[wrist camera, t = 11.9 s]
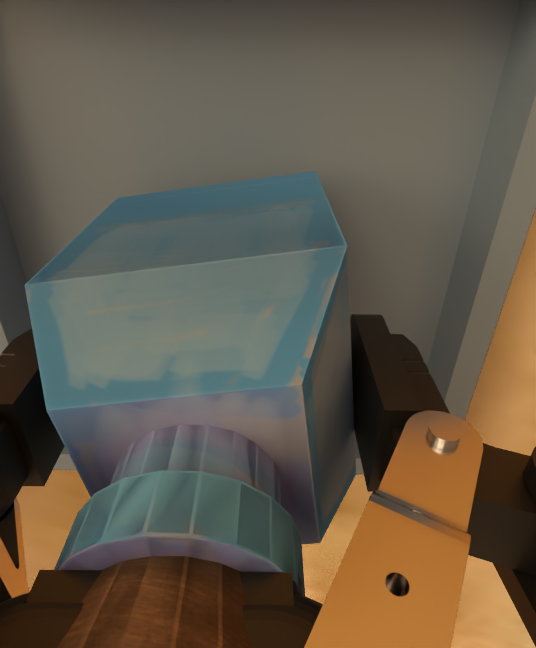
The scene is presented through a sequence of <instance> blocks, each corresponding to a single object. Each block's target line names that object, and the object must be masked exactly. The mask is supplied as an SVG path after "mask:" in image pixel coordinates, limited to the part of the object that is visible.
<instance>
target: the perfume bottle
mask: <svg viewBox="0 0 536 648" xmlns="http://www.w3.org/2000/svg"><path fill="white" fill-rule="evenodd" d="M25 291H26V296H27V302H28V308H29V314H30V319H31V325H32V331H33V336H34V342H35V348H36V354H37V359H38V365H39V371H40V376H41V382H42V388H43V394H44V399H45V405H46V411H47V413H48V414H49V416H50V418H51V420H52V422H53V424H54V426H55V428H56V430H57V432H58V434H59V436H60V438H61V440H62V442H63V444H64V446H65V448H66V449H67V451H68V453H69V455H70V457H71V459H72V461H73V463H74V465H75V467H76V469H77V471H78V473H79V475H80V477H81V479H82V481H83V483H84V485H85V486H86V488H87V490H88V492H89V494H90V496H91V498H90V499H89V501H88V502H87V503H86V504H85V505H84V506H83V507H82V509H81V510H80V511H79V512H78V514H77V516H76V519H75V521H74V523H73V526H72V528H71V531H70V533H69V535H68V538H67V540H66V543H65V545H64V548H63V550H62V552H61V555H60V557H59V560H58V562H57V564H56V567H55V569H54V570H86V571H102V572H101V573H100V575H99V576H98V578H97V579H96V581H95V582H94V583H93V585H92V586H91V588H90V589H89V591H88V592H87V593H86V595H85V596H84V598H83V599H82V601H81V602H80V603H84V604H83V607H82V609H81V611H80V613H79V615H78V617H77V619H76V620H75V622H74V623H73V625H72V626H71V628H70V629H69V630H68V632H67V633H66V635H65V636H64V638H63V639H62V641H61V642H60V644H59V645H58V647H57V648H251V646H250V643H249V640H248V636H247V633H246V629H245V626H244V622H243V613H242V608H243V605H249V604H248V601H247V597H246V594H245V591H244V588H243V585H242V581H241V578H240V575H239V572H265V573H292V578H293V593H296V594H299V595H302V596H305V588H304V574H303V559H302V545H301V544H313V543H320V542H321V540H322V538H323V536H324V534H325V532H326V530H327V528H328V527H329V525H330V523H331V521H332V519H333V517H334V515H335V513H336V511H337V509H338V508H339V506H340V504H341V502H342V500H343V498H344V496H345V494H346V492H347V490H348V488H349V487H350V485H351V483H352V481H353V479H354V477H355V475H356V456H355V431H354V405H353V380H352V355H351V329H350V304H349V279H348V253H347V244H346V242H345V239H344V237H343V235H342V232H341V230H340V227H339V225H338V223H337V220H336V218H335V216H334V213H333V211H332V209H331V206H330V204H329V202H328V199H327V197H326V194H325V192H324V190H323V187H322V185H321V183H320V180H319V178H318V176H317V173H316V171H313V172H306V173H298V174H291V175H283V176H276V177H268V178H261V179H253V180H246V181H238V182H231V183H223V184H216V185H208V186H201V187H194V188H186V189H179V190H171V191H164V192H156V193H149V194H141V195H134V196H126V197H119V198H117V199H116V200H115V201H114V202H112V203H111V204H110V205H109V206H108V207H107V208H106V209H105V210H104V211H103V212H102V213H101V214H100V215H99V216H98V217H96V218H95V219H94V220H93V221H92V222H91V223H90V224H89V225H88V226H87V227H86V228H85V229H84V230H83V231H82V232H80V233H79V234H78V235H77V236H76V237H75V238H74V239H73V240H72V241H71V242H70V243H69V244H68V245H67V246H66V247H65V248H63V249H62V250H61V251H60V252H59V253H58V254H57V255H56V256H55V257H54V258H53V259H52V260H51V261H50V262H49V263H47V264H46V265H45V266H44V267H43V268H42V269H41V270H40V271H39V272H38V273H37V274H36V275H35V276H34V277H33V278H31V279H30V280H29V281H28V282H27V283H26V284H25Z"/></svg>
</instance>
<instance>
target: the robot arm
mask: <svg viewBox="0 0 536 648" xmlns="http://www.w3.org/2000/svg"><path fill="white" fill-rule="evenodd" d="M350 329H351V355H352V380H353V405H354V431H355V436H356V440H357V445H358V449H359V454H360V458H361V463H362V467H363V472H364V476H365V481H366V485H367V490H368V491H374V492H373V493H372V494H371V496H370V498H369V500H368V502H367V504H366V507H365V509H364V511H363V514H362V516H361V518H360V521H359V523H358V525H357V527H356V530H355V532H354V534H353V537H352V539H351V541H350V543H349V546H348V548H347V550H346V553H345V555H344V557H343V560H342V562H341V564H340V566H339V569H338V571H337V573H336V576H335V578H334V580H333V583H332V585H331V587H330V589H329V592H328V594H327V596H326V599H325V601H324V603H323V605H322V604H321V603H319V602H316V601H314V600H312V599H310V598H308V597H305V596H302V595H299V594H296V593H293V578H292V573H265V572H239V575H240V578H241V581H242V585H243V588H244V591H245V594H246V597H247V601H248V604H249V605H243V608H242V613H243V622H244V626H245V629H246V633H247V636H248V640H249V643H250V646H251V648H451V643H452V638H453V633H454V627H455V622H456V617H457V611H458V606H459V601H460V595H461V590H462V585H463V579H464V574H465V569H466V564H467V558H468V555H471V556H474V557H477V558H480V559H483V560H486V561H489V562H492V563H493V564H494V566H495V568H496V570H497V572H498V574H499V576H500V578H501V580H502V582H503V584H504V586H505V588H506V590H507V592H508V593H509V595H510V597H511V599H512V601H513V603H514V605H515V607H516V609H517V611H518V613H519V615H520V617H521V619H522V621H523V623H524V625H525V627H526V629H527V631H528V633H529V635H530V636H531V638H532V640H533V642H534V644H535V646H536V447H535V448H534V450H533V452H532V454H531V456H527V455H523V454H519V453H515V452H511V451H507V450H503V449H499V448H496V447H493V446H489V445H487V444H484V443H483V442H482V439H481V437H480V435H479V434H478V432H477V431H476V430H475V429H474V428H473V427H472V426H471V425H470V424H468V423H467V422H466V421H464V420H463V419H461V418H459V417H457V416H454V415H452V414H450V412H449V410H448V408H447V406H446V404H445V402H444V400H443V398H442V396H441V394H440V392H439V390H438V388H437V386H436V384H435V382H434V380H433V378H432V376H431V374H429V370H428V368H427V366H426V364H425V363H424V362H423V358H422V356H421V354H420V352H419V350H418V348H417V346H416V345H415V344H414V343H412V342H411V341H410V340H409V339H408V338H406V337H405V336H404V335H403V334H390V332H389V329H388V327H387V325H386V322H385V320H384V318H383V316H382V315H377V314H352V315H351V318H350ZM64 447H65V446H64V444H63V442H62V440H61V438H60V436H59V434H58V432H57V430H56V428H55V426H54V424H53V422H52V420H51V418H50V416H49V414H48V413H47V411H46V405H45V399H44V394H43V388H42V382H41V376H40V371H39V365H38V359H37V354H36V348H35V342H34V336H33V331H32V328H31V329H29V330H28V331H26V332H25V333H23V334H21V335H20V336H18V337H16V338H15V339H13V340H12V341H11V343H10V344H9V345H8V346H7V347H6V348H5V349H4V350H3V352H2V353H1V356H0V648H57V647H58V645H59V644H60V642H61V641H62V639H63V638H64V636H65V635H66V633H67V632H68V630H69V629H70V628H71V626H72V625H73V623H74V622H75V620H76V619H77V617H78V615H79V613H80V611H81V609H82V607H83V604H84V603H80V602H81V601H82V599H83V598H84V596H85V595H86V593H87V592H88V591H89V589H90V588H91V586H92V585H93V583H94V582H95V581H96V579H97V578H98V576H99V575H100V573H101V572H102V571H86V570H40V571H39V573H38V575H37V577H36V580H35V582H34V584H33V586H32V589H31V591H29V587H28V582H27V576H26V566H25V555H24V545H23V535H22V525H21V515H20V507H19V503H18V501H17V499H16V496H17V495H18V493H19V491H20V489H21V488H22V486H44V485H45V483H46V481H47V480H48V478H49V476H50V474H51V472H52V470H53V468H54V466H55V464H56V462H57V460H58V458H59V456H60V454H61V452H62V450H63V448H64ZM375 491H377V492H375Z"/></svg>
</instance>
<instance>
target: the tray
mask: <svg viewBox="0 0 536 648" xmlns="http://www.w3.org/2000/svg"><path fill="white" fill-rule="evenodd" d="M313 171H316V173H317V176H318V178H319V180H320V183H321V185H322V187H323V190H324V192H325V194H326V197H327V199H328V202H329V204H330V206H331V209H332V211H333V213H334V216H335V218H336V220H337V223H338V225H339V227H340V230H341V232H342V235H343V237H344V239H345V242H346V244H347V253H348V279H349V304H350V318H351V315H352V314H377V315H382V316H383V318H384V320H385V322H386V325H387V327H388V329H389V332H390V334H403V335H404V336H405V337H406V338H408V339H409V340H410V341H411V342H412V343H414V344H415V345H416V346H417V348H418V350H419V352H420V354H421V356H422V358H423V362H424V363H425V364H426V366H427V368H428V370H429V374H431V376H432V378H433V380H434V382H435V384H436V386H437V388H438V390H439V392H440V394H441V396H442V398H443V400H444V402H445V404H446V406H447V408H448V410H449V412H450V414H452V415H454V416H457V417H459V418H461V419H463V420H465V417H466V414H467V411H468V408H469V405H470V402H471V399H472V396H473V393H474V390H475V387H476V384H477V381H478V378H479V375H480V372H481V369H482V366H483V364H484V361H485V358H486V355H487V352H488V349H489V346H490V343H491V340H492V337H493V334H494V331H495V328H496V325H497V322H498V319H499V316H500V313H501V310H502V307H503V304H504V301H505V298H506V295H507V292H508V289H509V286H510V283H511V280H512V278H513V275H514V272H515V269H516V266H517V263H518V260H519V257H520V254H521V251H522V248H523V245H524V242H525V239H526V236H527V233H528V230H529V227H530V224H531V221H532V218H533V215H534V212H535V209H536V0H0V356H1V353H2V352H3V350H4V349H5V348H6V347H7V346H8V345H9V344H10V343H11V341H12V340H13V339H15V338H16V337H18V336H20V335H21V334H23V333H25V332H26V331H28V330H29V329H31V328H32V325H31V319H30V314H29V308H28V302H27V296H26V291H25V284H26V283H27V282H28V281H29V280H30V279H31V278H33V277H34V276H35V275H36V274H37V273H38V272H39V271H40V270H41V269H42V268H43V267H44V266H45V265H46V264H47V263H49V262H50V261H51V260H52V259H53V258H54V257H55V256H56V255H57V254H58V253H59V252H60V251H61V250H62V249H63V248H65V247H66V246H67V245H68V244H69V243H70V242H71V241H72V240H73V239H74V238H75V237H76V236H77V235H78V234H79V233H80V232H82V231H83V230H84V229H85V228H86V227H87V226H88V225H89V224H90V223H91V222H92V221H93V220H94V219H95V218H96V217H98V216H99V215H100V214H101V213H102V212H103V211H104V210H105V209H106V208H107V207H108V206H109V205H110V204H111V203H112V202H114V201H115V200H116V199H117V198H119V197H126V196H134V195H141V194H149V193H156V192H164V191H171V190H179V189H186V188H194V187H201V186H208V185H216V184H223V183H231V182H238V181H246V180H253V179H261V178H268V177H276V176H283V175H291V174H298V173H306V172H313ZM355 456H356V474H364V472H363V467H362V463H361V458H360V454H359V449H358V445H357V440H356V436H355ZM53 470H77V469H76V467H75V465H74V463H73V461H72V459H71V457H70V455H69V453H68V451H67V449H66V448H65V447H64V448H63V450H62V452H61V454H60V456H59V458H58V460H57V462H56V464H55V466H54V468H53Z"/></svg>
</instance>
